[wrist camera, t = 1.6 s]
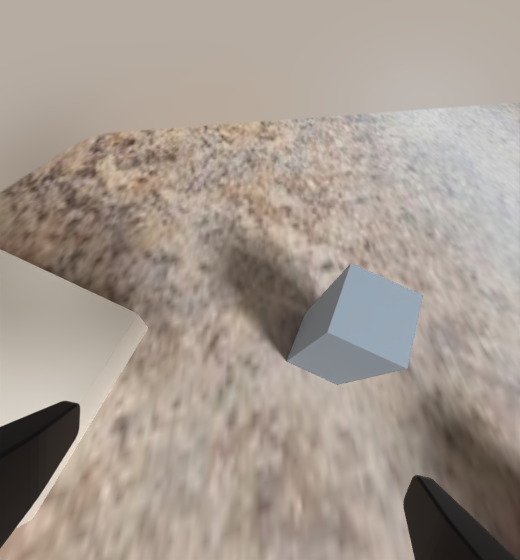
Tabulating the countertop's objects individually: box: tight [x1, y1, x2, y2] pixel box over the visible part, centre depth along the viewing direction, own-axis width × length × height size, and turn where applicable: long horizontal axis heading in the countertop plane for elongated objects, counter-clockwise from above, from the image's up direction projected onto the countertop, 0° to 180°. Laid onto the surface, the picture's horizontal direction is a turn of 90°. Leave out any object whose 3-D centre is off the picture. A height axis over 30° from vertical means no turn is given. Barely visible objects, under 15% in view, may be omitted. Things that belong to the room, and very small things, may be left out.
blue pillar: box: [287, 263, 423, 385], centre depth 19 cm, size 4×4×9 cm
